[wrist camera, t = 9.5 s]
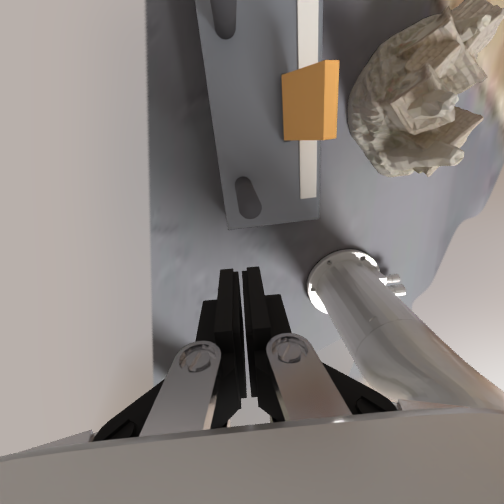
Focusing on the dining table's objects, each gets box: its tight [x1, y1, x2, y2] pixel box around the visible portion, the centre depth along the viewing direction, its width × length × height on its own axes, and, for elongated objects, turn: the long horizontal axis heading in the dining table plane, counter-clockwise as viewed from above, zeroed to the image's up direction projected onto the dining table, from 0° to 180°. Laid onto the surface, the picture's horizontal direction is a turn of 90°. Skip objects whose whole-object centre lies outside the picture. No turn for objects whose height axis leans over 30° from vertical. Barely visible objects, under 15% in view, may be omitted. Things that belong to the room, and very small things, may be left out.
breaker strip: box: [195, 0, 323, 230], centre depth 31 cm, size 12×26×6 cm, turn 5°
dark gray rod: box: [210, 0, 237, 39], centre depth 21 cm, size 2×2×10 cm
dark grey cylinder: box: [235, 177, 262, 219], centre depth 27 cm, size 2×2×10 cm
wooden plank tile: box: [281, 60, 339, 142], centre depth 26 cm, size 2×6×7 cm, turn 3°
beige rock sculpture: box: [347, 0, 504, 177], centre depth 28 cm, size 16×16×15 cm
